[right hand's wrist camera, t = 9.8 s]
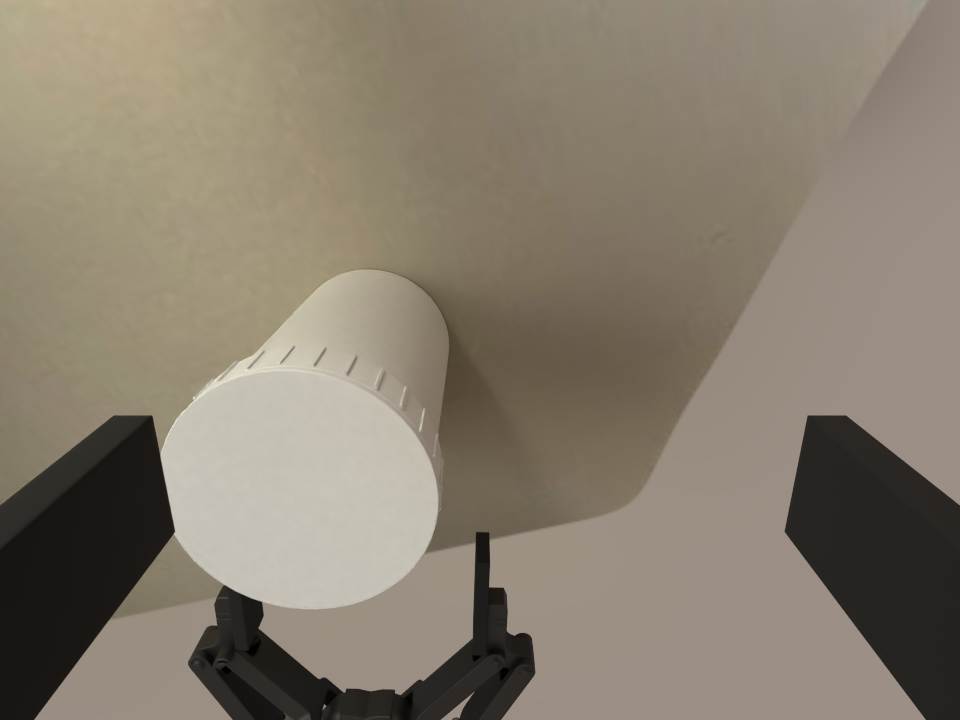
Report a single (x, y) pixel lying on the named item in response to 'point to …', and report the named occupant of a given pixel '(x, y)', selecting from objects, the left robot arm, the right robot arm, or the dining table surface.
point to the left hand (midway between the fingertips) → (360, 543)
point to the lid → (304, 478)
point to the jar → (377, 330)
